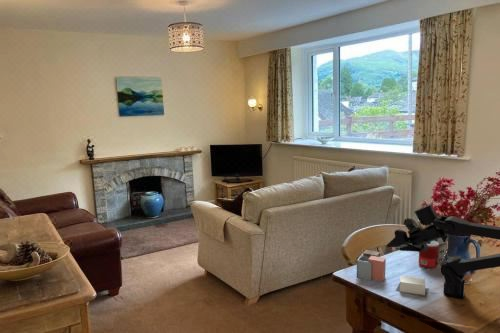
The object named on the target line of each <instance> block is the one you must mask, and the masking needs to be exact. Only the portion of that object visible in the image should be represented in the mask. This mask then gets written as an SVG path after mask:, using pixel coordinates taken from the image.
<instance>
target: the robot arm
mask: <svg viewBox="0 0 500 333" xmlns="http://www.w3.org/2000/svg"><path fill="white" fill-rule="evenodd" d="M413 213H414V215H415V216H416V217H417V219H418V221H419V222H420V225H422V226H424V227H423V228H422V227H421V226H420V225H419V224H418V223H417V221H415V220H414V218H410V217H408V218H405V219H404V220H403V223H402V224H403V225H404V226H405V227H406V228H407V229H408V231H405V230H402V229H399V228H398V229H396V230H394V238H392V240H390V241H389V242H388V243H387V244H386V247H387V248H399V251H402V252H415V253H416V252H417V253H419V252H425V251H427V250H428V245H427V244H431V241H434V240H437V239H439V238H442V240H443V242H446V241H447V240H448V241H449V237H450V236H462V235H463V236H464V235H465V236H466V235H470V236H475V237H476V236H477V237H482V238H487V239H495V240H500V226H495V225H489V224H483V223H476V222H470V221H468V220H466V219H464V218H461V217H458V216H455V215H453V216H452V215H451V216H446V215H440V214H439V215H437V213H436V212H435V210H434V207H433V205H432V204H429V205H425V206H421V207H419V208H417V209H416V210H414V211H413ZM431 223H433V224H432V225H430V226H427V227H425V226H426V225H429V224H431ZM420 248H422V249H420ZM499 267H500V253H495V254H494V253H493V254H489V255H485V256H484V255H483V256H479V257H473V258H467V259H465V258H462V257H461V255H460V254H459V255H455V256H448V257H447V258H446V260H445V261H444V262H443V263H442V265H441V266H440V267H439V268H440V273H441V275H442V276H443V278H444V281H443V295H444V297H448V298H453V299H458V300H461V301H463V300H464V299H465V295H466V292H465V288H466V287H465V286H466V280H464V279H465V278H466V276H467V275H468V274H467V273H468V272H469V273H470V272H474V271H481V270H486V269H494V268H499Z"/></svg>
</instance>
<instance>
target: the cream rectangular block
mask: <svg viewBox="0 0 500 333" xmlns="http://www.w3.org/2000/svg"><path fill="white" fill-rule="evenodd" d="M399 280H400V281H399V283H400V292H399V293H403V292H407V293H414V294H421V295H425V288H426V278H423V277H416V276H408V275H400V279H399ZM407 293H406V294H407Z"/></svg>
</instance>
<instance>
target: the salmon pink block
mask: <svg viewBox="0 0 500 333" xmlns="http://www.w3.org/2000/svg"><path fill="white" fill-rule="evenodd" d="M386 259H387V258H386V257H381V256H380V257H376V256H371V257H370V258H369V259H368V262H372V265H371V280H375V281H380V282H383V281H384V280H385V279H386V261H387V260H386Z"/></svg>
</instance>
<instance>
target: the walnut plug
mask: <svg viewBox="0 0 500 333" xmlns="http://www.w3.org/2000/svg"><path fill="white" fill-rule="evenodd" d="M364 251H365V252H364ZM364 251H363V252H362V254H363V256H367V257H371V256H376V257H381V256H380V255H381V254H380V252H379V251H374V250H368V249H365V250H364Z"/></svg>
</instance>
